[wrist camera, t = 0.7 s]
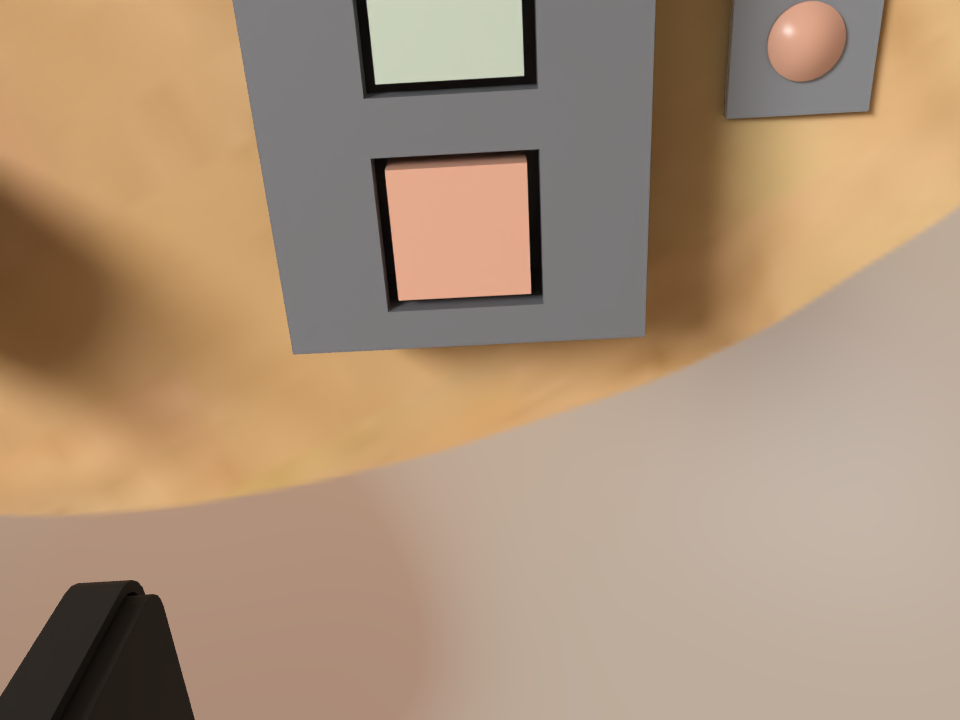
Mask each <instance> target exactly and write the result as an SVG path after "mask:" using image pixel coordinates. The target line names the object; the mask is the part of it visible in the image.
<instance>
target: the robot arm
mask: <svg viewBox="0 0 960 720" xmlns="http://www.w3.org/2000/svg"><path fill="white" fill-rule="evenodd" d="M0 720H195V719H194V715H193V712H192V708H191V704H190V701H189V697H188V694H187V690H186V686H185V683H184V679H183V675H182V672H181V668H180V664H179V661H178V657H177V653H176V650H175V646H174V642H173V639H172V635H171V632H170V628H169V624H168V621H167V617H166V613H165V610H164V606H163V604H162V602H161V599H160V598H159V597H158V595H154V594H149V595H145V593H144V590H143V587H142V586H141V585H140V584H139V583H138V582H137V581H133V580H127V581H111V582H93V583H78V584H76V585H73V586H71V587H70V588H69V590H68V591H67V592H66V593H65V595H64V596H63V598H62V599H61V601H60V602H59V604H58V606H57V607H56V609H55V610H54V612H53V614H52V615H51V617H50V618H49V620H48V621H47V623H46V625H45V626H44V628H43V630H42V631H41V633H40V634H39V636H38V637H37V639H36V641H35V642H34V644H33V645H32V647H31V649H30V651H29V652H28V653H27V655H26V657H25V658H24V660H23V661H22V663H21V665H20V666H19V668H18V669H17V671H16V673H15V674H14V676H13V677H12V679H11V680H10V682H9V684H8V685H7V687H6V688H5V690H4V692H3V693H2V695H1V696H0Z"/></svg>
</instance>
